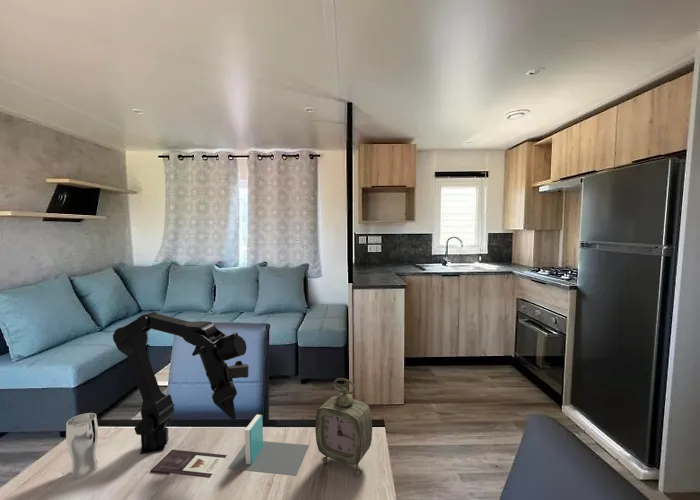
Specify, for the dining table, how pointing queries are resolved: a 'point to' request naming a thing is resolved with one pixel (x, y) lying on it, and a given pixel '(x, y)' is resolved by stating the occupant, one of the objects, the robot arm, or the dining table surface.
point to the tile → (253, 439)
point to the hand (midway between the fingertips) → (232, 414)
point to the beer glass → (82, 444)
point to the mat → (273, 458)
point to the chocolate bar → (189, 463)
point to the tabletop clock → (344, 428)
